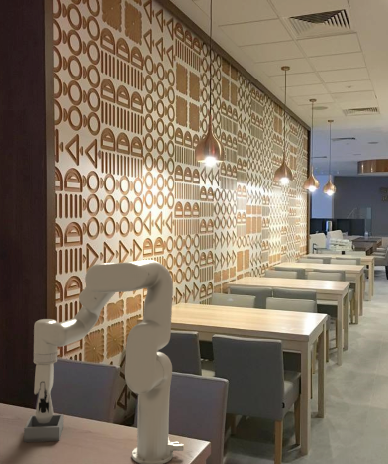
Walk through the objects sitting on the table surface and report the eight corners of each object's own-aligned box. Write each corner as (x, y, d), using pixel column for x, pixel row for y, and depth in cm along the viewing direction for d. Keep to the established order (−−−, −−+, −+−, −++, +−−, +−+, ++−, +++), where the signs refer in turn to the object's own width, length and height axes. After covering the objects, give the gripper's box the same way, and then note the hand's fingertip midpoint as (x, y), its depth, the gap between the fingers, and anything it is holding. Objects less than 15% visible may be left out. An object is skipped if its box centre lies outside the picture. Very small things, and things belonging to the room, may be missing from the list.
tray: (63, 427, 176) (63, 414, 176) (59, 440, 165) (59, 427, 165) (30, 428, 175) (30, 415, 175) (24, 442, 164) (24, 428, 164)
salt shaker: (55, 417, 173) (55, 379, 173) (51, 424, 167) (51, 385, 167) (37, 417, 173) (38, 379, 173) (33, 424, 167) (33, 384, 167)
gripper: (38, 350, 177) (37, 403, 178) (29, 364, 161) (28, 422, 161) (60, 350, 178) (59, 402, 179) (53, 363, 162) (52, 421, 162)
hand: (44, 411), depth 170 cm, fingers closed on salt shaker, 3 cm apart
